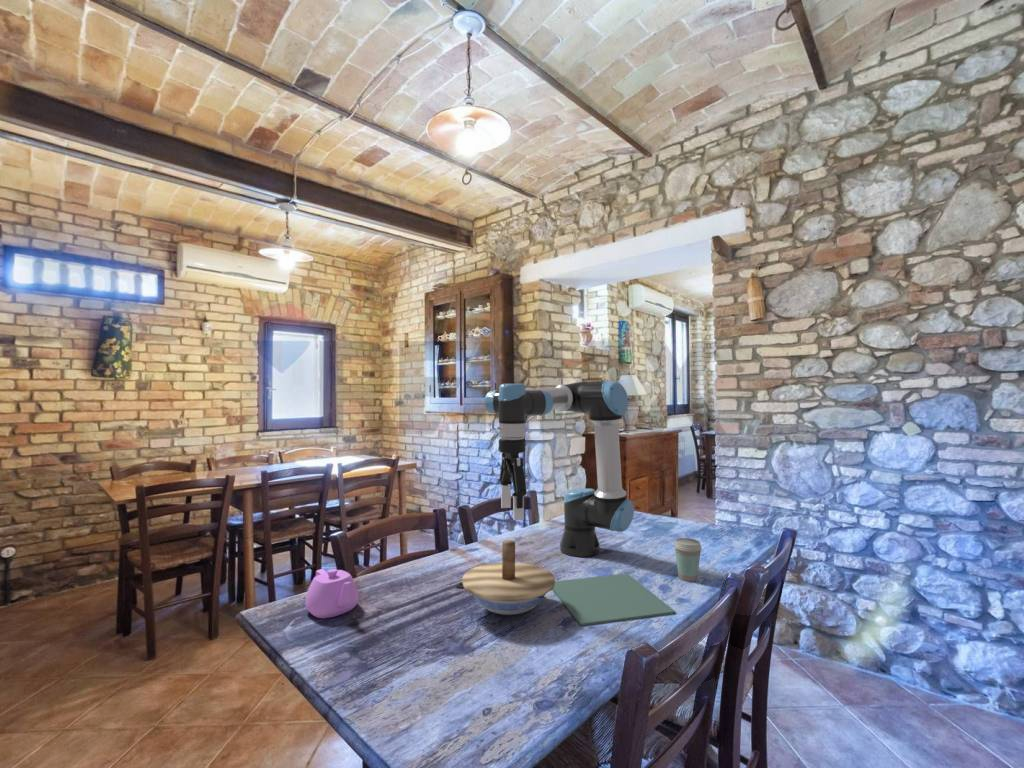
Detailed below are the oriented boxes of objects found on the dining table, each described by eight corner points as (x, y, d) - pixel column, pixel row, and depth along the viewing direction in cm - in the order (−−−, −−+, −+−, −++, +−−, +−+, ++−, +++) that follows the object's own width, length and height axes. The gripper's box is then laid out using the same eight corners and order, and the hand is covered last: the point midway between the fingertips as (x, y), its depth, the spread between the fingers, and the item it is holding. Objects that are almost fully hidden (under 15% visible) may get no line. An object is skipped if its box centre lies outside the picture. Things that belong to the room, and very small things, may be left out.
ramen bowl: (561, 598, 144) (561, 571, 144) (540, 636, 123) (540, 604, 123) (483, 587, 152) (483, 561, 152) (450, 621, 131) (450, 590, 131)
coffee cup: (704, 584, 154) (703, 546, 155) (675, 582, 156) (675, 544, 156) (699, 574, 163) (699, 538, 163) (672, 572, 165) (672, 536, 165)
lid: (456, 569, 147) (456, 532, 147) (538, 562, 153) (538, 527, 153) (470, 605, 121) (470, 560, 122) (568, 595, 128) (568, 552, 128)
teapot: (326, 631, 126) (326, 588, 126) (295, 606, 140) (294, 567, 140) (373, 613, 135) (372, 573, 135) (339, 592, 149) (339, 556, 149)
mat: (547, 583, 155) (547, 582, 155) (627, 575, 162) (627, 573, 162) (580, 625, 128) (580, 623, 128) (675, 613, 135) (675, 611, 135)
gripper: (489, 434, 149) (489, 503, 149) (510, 443, 125) (510, 526, 125) (513, 433, 151) (513, 502, 151) (538, 442, 127) (538, 524, 127)
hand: (512, 513), depth 138 cm, fingers open, 13 cm apart
